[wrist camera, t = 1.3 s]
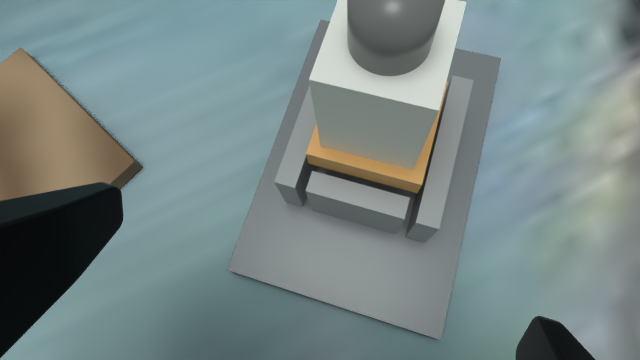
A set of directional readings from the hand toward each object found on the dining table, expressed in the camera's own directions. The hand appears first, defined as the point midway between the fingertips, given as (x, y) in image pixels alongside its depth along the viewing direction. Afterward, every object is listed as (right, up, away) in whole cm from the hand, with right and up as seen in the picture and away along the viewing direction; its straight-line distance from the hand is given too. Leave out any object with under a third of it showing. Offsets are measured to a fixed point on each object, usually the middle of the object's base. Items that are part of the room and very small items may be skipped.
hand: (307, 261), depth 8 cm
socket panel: (+3, +3, +15) cm, 15 cm away
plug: (+3, +3, +14) cm, 14 cm away
